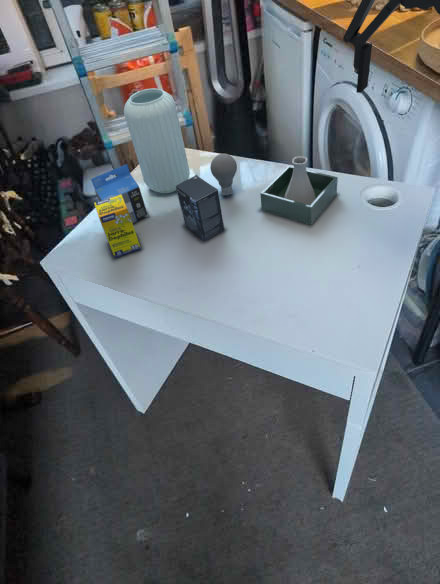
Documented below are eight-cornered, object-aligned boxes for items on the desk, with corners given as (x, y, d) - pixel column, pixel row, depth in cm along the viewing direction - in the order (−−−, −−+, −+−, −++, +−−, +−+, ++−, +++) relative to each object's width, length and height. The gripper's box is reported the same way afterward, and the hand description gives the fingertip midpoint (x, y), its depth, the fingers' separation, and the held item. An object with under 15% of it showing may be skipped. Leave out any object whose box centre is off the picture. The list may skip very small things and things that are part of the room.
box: (184, 225, 97) (174, 185, 89) (205, 214, 98) (197, 174, 91) (204, 242, 92) (195, 200, 84) (225, 230, 94) (218, 188, 86)
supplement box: (115, 259, 92) (98, 217, 84) (109, 243, 96) (93, 202, 88) (142, 249, 93) (127, 207, 85) (135, 234, 97) (121, 193, 89)
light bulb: (235, 202, 100) (230, 163, 93) (211, 199, 102) (204, 161, 95) (243, 187, 104) (239, 149, 97) (220, 185, 106) (214, 147, 99)
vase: (196, 172, 112) (179, 83, 96) (184, 198, 104) (163, 106, 88) (155, 172, 114) (131, 85, 99) (140, 197, 107) (112, 108, 91)
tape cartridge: (114, 233, 98) (95, 186, 89) (107, 225, 101) (89, 179, 92) (148, 216, 101) (134, 170, 92) (141, 209, 103) (127, 163, 94)
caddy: (336, 194, 97) (338, 177, 94) (310, 225, 91) (311, 207, 88) (288, 182, 103) (288, 165, 100) (261, 210, 97) (260, 193, 94)
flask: (278, 207, 96) (277, 167, 89) (289, 189, 100) (288, 149, 93) (310, 212, 93) (311, 171, 86) (320, 193, 97) (321, 152, 90)
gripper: (559, -96, 49) (497, 95, 64) (349, -81, 61) (339, 76, 76) (546, -82, 45) (484, 117, 60) (325, -69, 57) (319, 94, 72)
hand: (403, 95), depth 68 cm, fingers open, 13 cm apart
